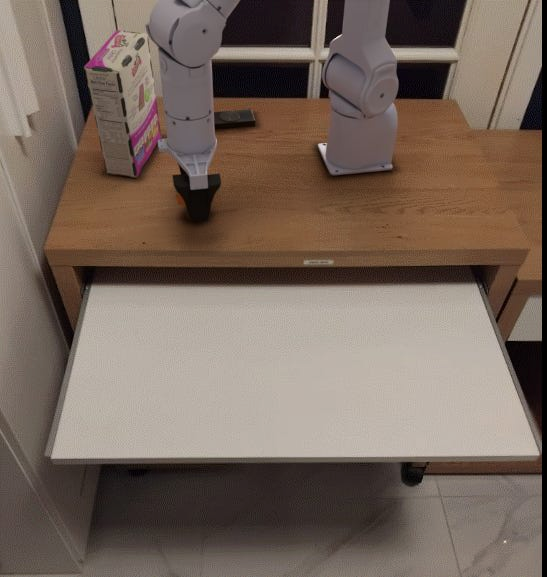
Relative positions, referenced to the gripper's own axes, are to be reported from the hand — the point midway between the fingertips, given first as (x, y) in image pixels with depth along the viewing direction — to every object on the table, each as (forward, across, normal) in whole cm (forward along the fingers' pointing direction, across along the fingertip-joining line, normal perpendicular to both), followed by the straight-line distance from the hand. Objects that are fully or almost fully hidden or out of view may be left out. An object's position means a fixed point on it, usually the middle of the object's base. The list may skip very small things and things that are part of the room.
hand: (195, 201), depth 83 cm
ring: (-1, 0, 0) cm, 1 cm away
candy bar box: (+2, -16, -8) cm, 17 cm away
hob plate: (+2, -23, +8) cm, 24 cm away
